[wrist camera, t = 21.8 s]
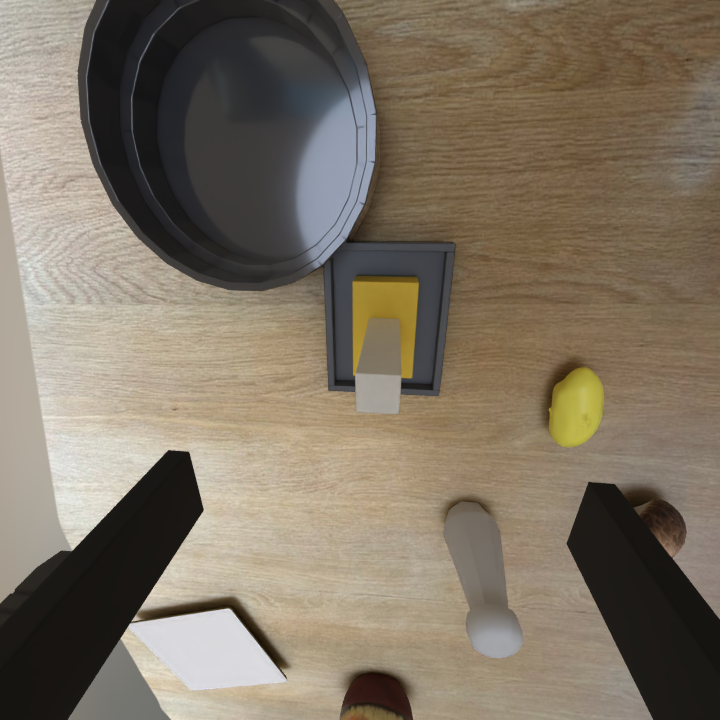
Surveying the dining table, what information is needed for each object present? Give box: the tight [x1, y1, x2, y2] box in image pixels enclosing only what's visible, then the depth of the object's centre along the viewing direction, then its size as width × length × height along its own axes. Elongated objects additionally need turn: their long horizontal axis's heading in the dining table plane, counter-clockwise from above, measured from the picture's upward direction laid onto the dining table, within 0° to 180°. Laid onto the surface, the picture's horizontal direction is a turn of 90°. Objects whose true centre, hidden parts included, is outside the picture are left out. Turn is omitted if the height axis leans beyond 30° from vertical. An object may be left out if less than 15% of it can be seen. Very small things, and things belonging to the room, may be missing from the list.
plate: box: [128, 607, 287, 691], centre depth 53 cm, size 19×19×2 cm
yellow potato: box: [548, 367, 604, 447], centre depth 30 cm, size 4×8×4 cm, turn 178°
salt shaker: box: [443, 501, 523, 658], centre depth 33 cm, size 6×6×13 cm
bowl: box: [78, 0, 380, 291], centre depth 23 cm, size 18×18×6 cm
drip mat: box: [323, 241, 456, 396], centre depth 30 cm, size 13×10×2 cm
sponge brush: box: [352, 274, 419, 414], centre depth 24 cm, size 8×5×13 cm, turn 0°
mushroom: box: [633, 499, 687, 558], centre depth 34 cm, size 8×8×6 cm
